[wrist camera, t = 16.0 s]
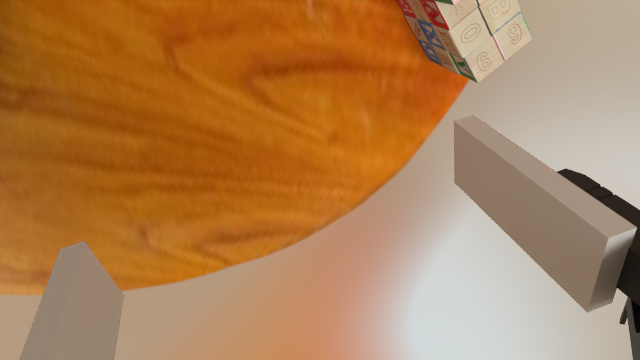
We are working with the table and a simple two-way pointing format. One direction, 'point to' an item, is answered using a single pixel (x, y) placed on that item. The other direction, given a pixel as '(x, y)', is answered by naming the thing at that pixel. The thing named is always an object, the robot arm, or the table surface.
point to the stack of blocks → (467, 32)
